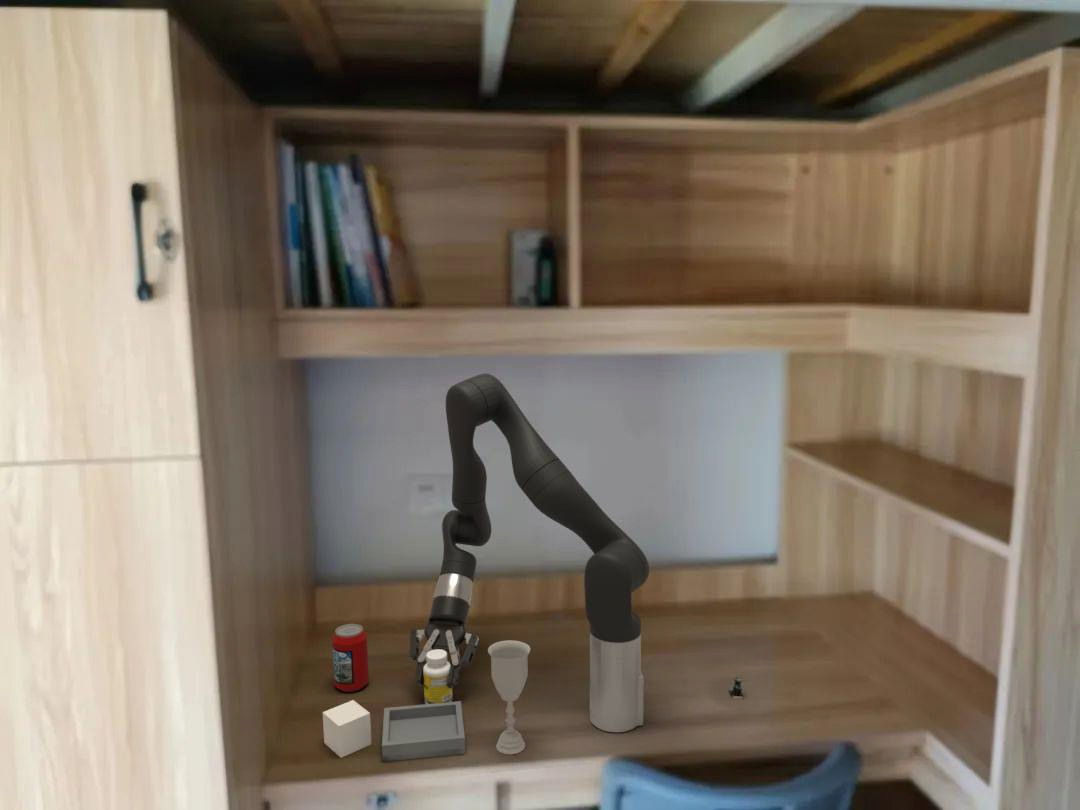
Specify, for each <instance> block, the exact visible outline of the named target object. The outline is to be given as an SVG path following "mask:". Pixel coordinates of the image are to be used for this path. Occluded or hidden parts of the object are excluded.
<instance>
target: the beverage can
mask: <svg viewBox="0 0 1080 810" xmlns="http://www.w3.org/2000/svg"><path fill="white" fill-rule="evenodd" d="M331 643H332V647H331V648H332V663H333V665H332V666H333V679H334V687H336V688H337V689H338V690H341V691H343V692H346V693H348V692H350V693H351V692H357V691H359V690H361V689H363V688H364V687H365V686H367V684H368V683H369V679H370V677H369V655H368V653H369V651H368V650H369V649H368V635H367V633H366V632H365V630H364V629H363V626H362V625H361V624H357V623H348V624H343V625H340V626H338V627H337V628H335V632H334V634H333V636H332V638H331Z"/></svg>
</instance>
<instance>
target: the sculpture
mask: <svg viewBox="0 0 1080 810" xmlns="http://www.w3.org/2000/svg"><path fill="white" fill-rule="evenodd" d="M733 680H734V683H733V686H732V690H730V689H729V690H727V691H728V694H729V696H730V697H731V698H733V699H734V698H741V699H744V698H745V695H744V693H743V685H742V684H741V683H742V679H741V678H740V677H738V676H736V677H735V678H734V679H733Z"/></svg>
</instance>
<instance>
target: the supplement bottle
mask: <svg viewBox="0 0 1080 810" xmlns="http://www.w3.org/2000/svg"><path fill="white" fill-rule="evenodd" d="M426 661H427V663H426V664H425V665H424V668H423V678H424V683H423V695H424V704H434V703H445V702H453V689H452V688H448V686H447V682H448V677H449V672H450V666H452V664H451V663H450V661H448V653H447V652H446V651H444V650H441V649H436V650H431V651H429V652H428V653H427V654H426Z"/></svg>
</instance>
